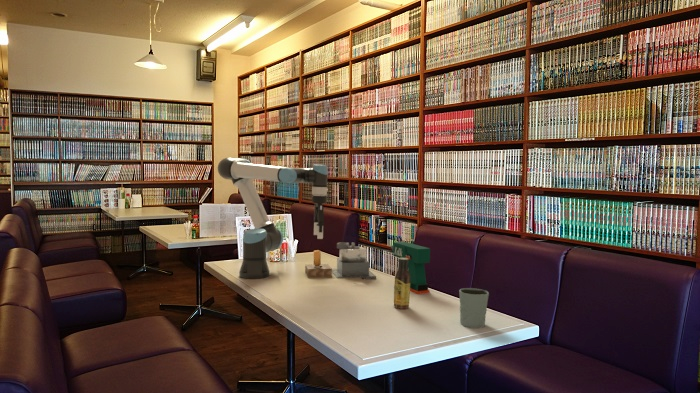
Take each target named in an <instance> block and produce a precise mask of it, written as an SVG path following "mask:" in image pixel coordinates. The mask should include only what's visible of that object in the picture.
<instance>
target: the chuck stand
mask: <svg viewBox="0 0 700 393" xmlns="http://www.w3.org/2000/svg"><path fill="white" fill-rule="evenodd" d="M336 259H337V260H336V268H332V275H334V276H335V278H337V279H353V278H354V279H357V278H359V279H361V280H377V276H376V274H374V273H373V271H371V270H370V261H368V260H367V259H366V261H362V262H346V261H341V260H339V257H337V258H336Z"/></svg>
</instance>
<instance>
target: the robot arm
mask: <svg viewBox="0 0 700 393" xmlns="http://www.w3.org/2000/svg"><path fill="white" fill-rule="evenodd" d="M217 172H218V174H219V176H220V178H223V179H225V180H229V181H230V180H231V181H232V184H233V186H234V187H236V188H237V189H238V191H239V194H240V196H241V199H242V201H243V203H244V205H245V207H246V210H247V213H248V215H249V217H250V220H251V222H252V224H253V228H249V229H247V230H245V231H244V232H243V237H242V263H241V266H240V269H239V273H238V274H239V275H238V276H239V277H240V278H242V279H253V280H254V279H264V278H267V277H269V276H270V269H269V265H268V262H267V253H269V252H274V251H276V250H278V249H279V248H281V246H282V245H283V242H284V235H283V232H282V230H280V229H279V228H277V227H276V226H275V224H274V222H272V221H270V218H269V217H268V216H269V215H268V214H267V212H266V209H265V207H264V204H263V202H262V200H261V198H260V195H259V193H258V191H257V188H256V186H255V184H254V180H257V181H258V180H261V181H269V182H279V183H283V184H312V186H311V187H312V188H311V195H312V196H311V203H313V204H314V211H313V212H314V214H313V236H317V238H316V239H317V240H323V238H324V225H325V219H324V218H325V216H324V215H325V214H324V213H325V212H324V205H323V204H327V202H328V201H327V199H328V198H327V197H328V196H327V195H328V191H329V189H328V175H329V174H328V166H327V165H326V164H313V165H312V168H307V167H306V168H305V167H288V166H287V167H286V166H275V165H268V164H267V165H266V164H255V163H252V162H251V161H250V160H248V159H247V158H243V157H225V158H223V159H220V161H219V163H218V164H217Z"/></svg>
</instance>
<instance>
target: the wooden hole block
mask: <svg viewBox="0 0 700 393" xmlns="http://www.w3.org/2000/svg"><path fill="white" fill-rule="evenodd" d="M304 268H305V269H304V272H305V274H306V276H307V278H321V277H322V278H326V277H327V278H330V277H332V276H333V273H332V269H333V268H332V267H331V265H329V263H321V265H320V267H315V265H314V263H312V264H310V263H309V264H305V267H304Z"/></svg>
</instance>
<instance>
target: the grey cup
mask: <svg viewBox="0 0 700 393" xmlns="http://www.w3.org/2000/svg"><path fill="white" fill-rule="evenodd" d="M458 292H459V313H460V315H459V316H460V320H459V323H460V325H461V326H463V327H466V328H471V329H481V328H484V327H485V326H486V314H487V311H488V310H487V309H488V308H487V307H488V301H489V296H490V293H489V291H488V290H486V289H481V288H475V287H474V288H473V287H465V288H464V287H463V288H460V289H459V290H458Z"/></svg>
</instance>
